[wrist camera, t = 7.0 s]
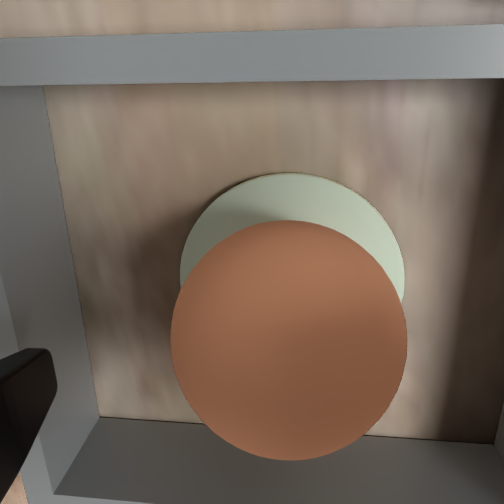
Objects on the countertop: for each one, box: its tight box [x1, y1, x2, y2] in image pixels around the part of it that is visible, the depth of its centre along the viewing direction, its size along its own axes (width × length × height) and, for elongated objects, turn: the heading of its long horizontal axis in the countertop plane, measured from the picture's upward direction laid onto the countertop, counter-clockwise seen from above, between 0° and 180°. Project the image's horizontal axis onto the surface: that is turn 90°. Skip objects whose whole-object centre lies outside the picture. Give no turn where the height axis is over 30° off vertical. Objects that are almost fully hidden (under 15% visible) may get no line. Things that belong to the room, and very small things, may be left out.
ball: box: [170, 220, 407, 460], centre depth 10 cm, size 5×5×5 cm
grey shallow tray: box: [0, 24, 504, 504], centre depth 11 cm, size 14×12×3 cm
